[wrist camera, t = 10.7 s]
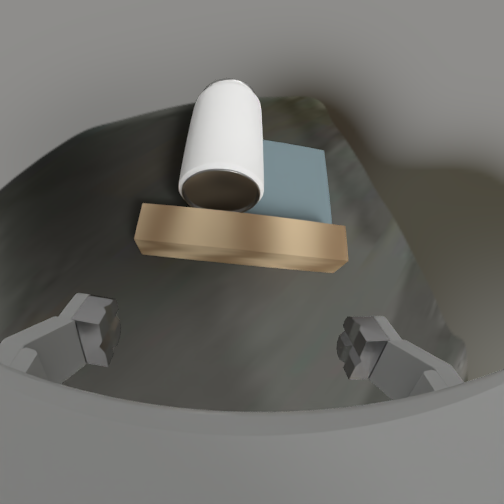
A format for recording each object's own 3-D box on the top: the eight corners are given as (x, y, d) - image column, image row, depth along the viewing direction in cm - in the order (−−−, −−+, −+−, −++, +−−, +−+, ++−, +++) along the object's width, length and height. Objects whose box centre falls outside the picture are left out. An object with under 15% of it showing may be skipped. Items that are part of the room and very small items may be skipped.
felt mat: (195, 220, 24) (195, 218, 24) (210, 136, 28) (210, 133, 28) (330, 236, 26) (332, 234, 25) (322, 152, 29) (323, 150, 29)
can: (166, 170, 18) (191, 78, 23) (188, 219, 24) (202, 125, 29) (264, 165, 18) (260, 73, 23) (265, 216, 24) (261, 122, 29)
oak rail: (142, 254, 22) (134, 238, 20) (148, 221, 24) (142, 203, 21) (333, 273, 24) (348, 260, 22) (331, 241, 25) (345, 226, 23)
